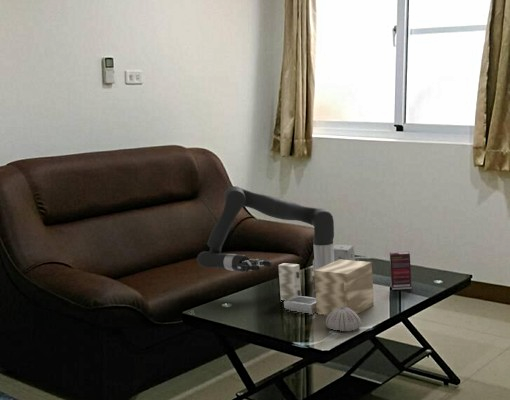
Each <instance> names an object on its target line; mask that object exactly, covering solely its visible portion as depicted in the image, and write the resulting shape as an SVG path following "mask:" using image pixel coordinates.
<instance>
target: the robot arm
mask: <svg viewBox="0 0 510 400" xmlns="http://www.w3.org/2000/svg"><path fill="white" fill-rule="evenodd" d="M223 193H224V194H223V197H224V198H223V199H224V202H225V204H224V207H223V211H222V213H221V215H220V217H219V219H218V221H217V222H216V223H215V225H214V227H213V229H212V231H211V232H210V235H209V237H208V240H207V243H206V244H207V246H208V247H209V251H202V252H201V251H200V253H199V254H197V257H196V261H197V264H198V265H199V266H201V267H204V268H218V269H221V270H228V271H232V272H238V273H239V272H240V273H245V272H252V271H255V272H259V271H261V267H272V265H273V262H272V261H270V260H269V261H268V260H267V258H257V257H255V258H254V259H253V258H250V259H249V257H248V256H247V255H245V254H237V253H222V248H223V245H224V243H225V241H226V239H227V236H228V234H229V233H230V230H231V227H232V225H233V223H234V221H235V219H236V217H237V216H238V214H239V213H240V211H241V209H242V208H243V207H245V208H250V209H253V210H255V211H257V212H259V213H260V214H261V213H262V214H263V215H265V216H268V217H271V218H274V219H279V220H282V221H283V220H285V221H296V222H301V223H305V224H308V225H311V226H313V228H314V229H313V230H314V232H313V233H314V236H313V239H312V240H313V243H312V245H313V256H314V257H313V258H314V259H313V260H312V269H313V271H312V273H313V274H312V275H314V270H316V269H319V268H321V267H323V266H326V265H328V264H330V263H332V262H334V246H335V245H334V239H335V238H334V237H335V227H334V226H335V225H334V222H335V221H334V216H333V214H332V213H331V212H329V211H328V210H327V209H326V208H325V209H324V208H320V207H312V206H307V205H306V206H305V205H301V204H299V203H297V202H293V201H291V200H287V199H284V198H280V197H276V196H271V195H266V194H261V193H257V192H253V191H250V190H247V189H244V188H242V187H239V186H235V185H234V186H233V185H232V186H229V187H228V188H227V189H225V191H224V192H223Z"/></svg>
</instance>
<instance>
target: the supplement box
mask: <svg viewBox="0 0 510 400" xmlns="http://www.w3.org/2000/svg"><path fill="white" fill-rule="evenodd" d="M389 264H390V265H389V266H390V281H391V283H390V284H391V285H390V286H391V289H392V290H394V291H395V290H412V287H413V286H412V285H413V284H412V273H411V272H412V270H411V269H412V268H411V253H410V251H395V252H389Z"/></svg>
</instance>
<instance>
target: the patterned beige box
mask: <svg viewBox="0 0 510 400" xmlns="http://www.w3.org/2000/svg"><path fill="white" fill-rule="evenodd" d="M372 264H373V263H372V261H364V260H363V261H361V260H355V261H353V260H343V259H339V260H337V261H335V262H332V263H330V264H328V265H326V266H323V267H321V268H319V269H316V270H314V274H312V275H311V280H312V281H311V282H312V285H313V284H314V287H315V289H313V290H312V296H313V298H316V308H317V312H316V314H317V313H318V314H317V315H321V314H324V315H323V316H328V315H329V314H330V313H331V312H332V311H334V309H336V308H338V307H348V308H350V309H351V310H353V311H354V312H355V313H356V314H357V315H358V314H361V313H362V312H364V311H365V310H367V309H370V307H373V306H374V303H375V302H374V284H373V283H374V282H373V265H372Z"/></svg>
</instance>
